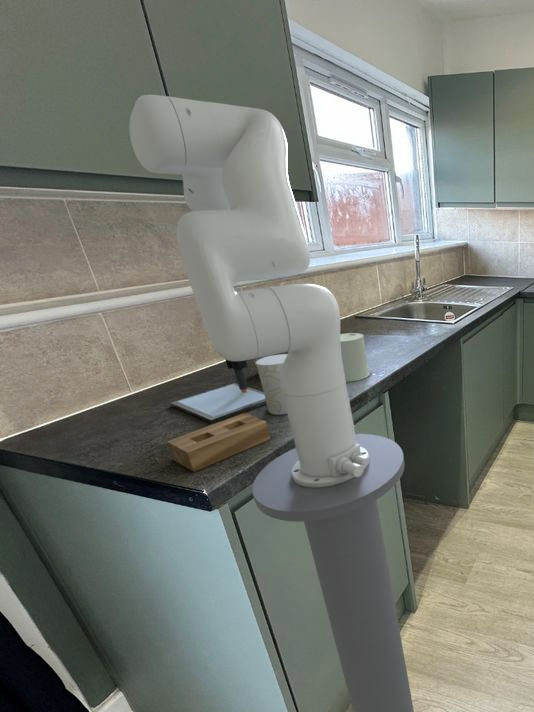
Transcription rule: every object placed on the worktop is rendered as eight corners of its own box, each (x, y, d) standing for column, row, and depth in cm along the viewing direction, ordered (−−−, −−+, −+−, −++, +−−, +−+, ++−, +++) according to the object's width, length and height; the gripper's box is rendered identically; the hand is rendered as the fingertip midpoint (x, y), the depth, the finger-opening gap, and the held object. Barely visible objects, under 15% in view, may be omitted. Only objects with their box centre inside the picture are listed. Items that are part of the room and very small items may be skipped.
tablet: (277, 399, 104) (276, 395, 103) (211, 423, 92) (210, 419, 91) (235, 386, 114) (234, 382, 113) (171, 406, 102) (170, 402, 101)
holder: (270, 438, 84) (266, 421, 83) (194, 472, 73) (187, 452, 72) (249, 429, 88) (244, 412, 87) (173, 460, 77) (166, 441, 76)
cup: (260, 413, 96) (247, 364, 92) (286, 399, 104) (274, 353, 99) (290, 415, 94) (278, 365, 90) (314, 401, 102) (303, 354, 97)
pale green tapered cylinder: (376, 371, 121) (369, 331, 117) (357, 383, 113) (350, 340, 109) (348, 370, 124) (341, 330, 119) (328, 380, 115) (320, 339, 111)
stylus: (250, 391, 106) (237, 345, 102) (242, 393, 105) (229, 347, 101) (246, 389, 107) (233, 345, 103) (239, 392, 106) (226, 346, 102)
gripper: (251, 293, 96) (270, 368, 103) (217, 289, 104) (237, 359, 111) (216, 298, 90) (238, 377, 97) (183, 294, 98) (206, 367, 105)
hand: (237, 367), depth 104 cm, fingers closed on stylus, 1 cm apart
